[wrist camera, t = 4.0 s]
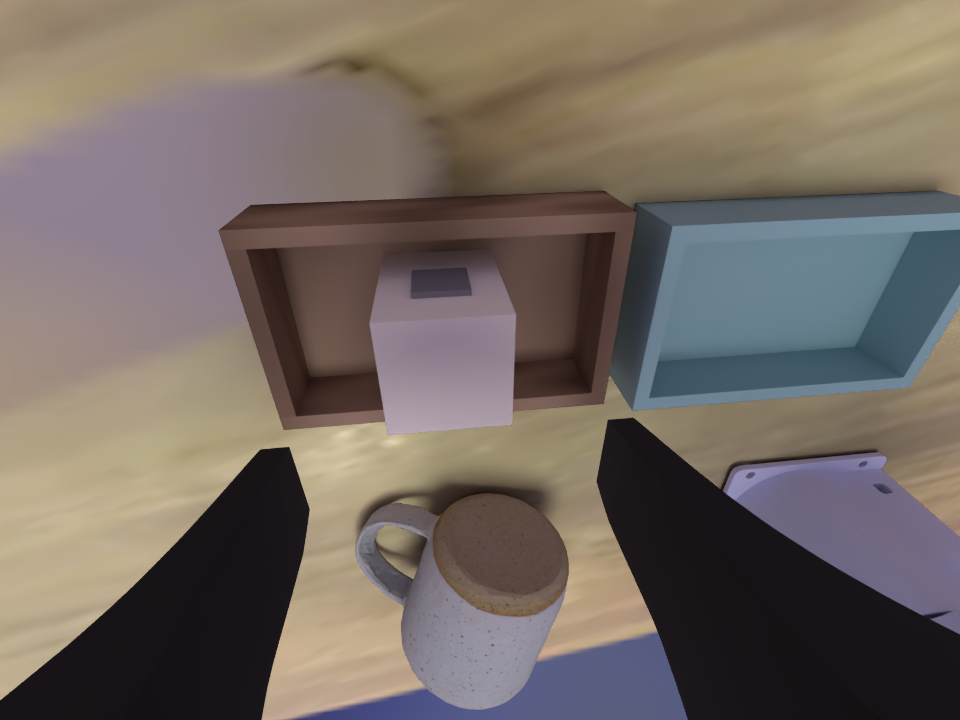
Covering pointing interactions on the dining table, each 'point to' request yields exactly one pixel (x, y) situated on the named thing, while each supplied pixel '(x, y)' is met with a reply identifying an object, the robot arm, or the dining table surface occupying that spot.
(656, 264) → the teal tray
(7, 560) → the dining table surface
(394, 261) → the letter block
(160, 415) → the dining table surface
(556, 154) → the dining table surface
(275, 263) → the walnut tray
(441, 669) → the ceramic mug
